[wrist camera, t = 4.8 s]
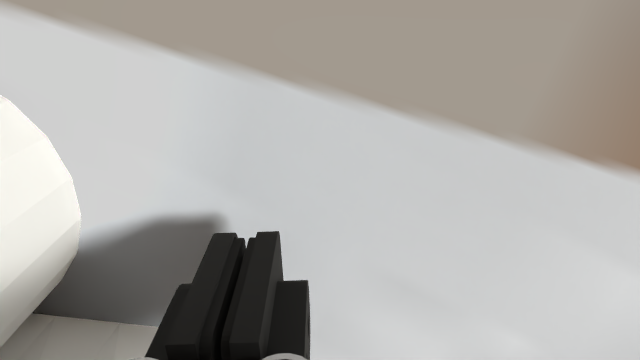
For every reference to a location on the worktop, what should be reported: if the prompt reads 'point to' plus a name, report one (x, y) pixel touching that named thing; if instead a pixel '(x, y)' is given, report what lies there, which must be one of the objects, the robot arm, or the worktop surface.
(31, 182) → the toilet paper
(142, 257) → the worktop surface
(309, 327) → the robot arm
